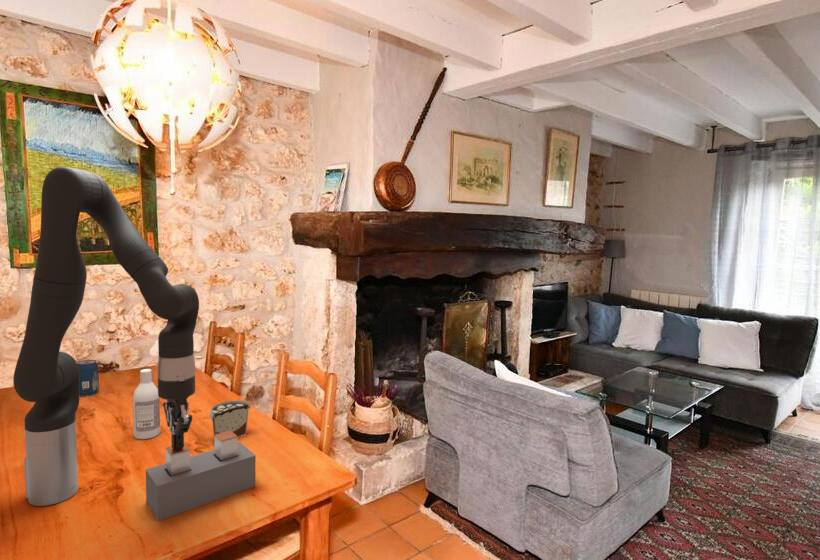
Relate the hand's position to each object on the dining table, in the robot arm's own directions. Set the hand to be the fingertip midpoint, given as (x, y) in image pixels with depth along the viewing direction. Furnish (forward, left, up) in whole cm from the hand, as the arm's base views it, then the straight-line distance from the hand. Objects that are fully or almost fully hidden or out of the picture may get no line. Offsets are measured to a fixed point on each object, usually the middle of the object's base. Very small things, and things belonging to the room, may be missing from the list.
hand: (177, 448), depth 107 cm
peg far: (+5, +9, -8) cm, 14 cm away
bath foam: (-34, +24, -13) cm, 44 cm away
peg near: (0, 0, -8) cm, 8 cm away
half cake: (-12, +32, -13) cm, 37 cm away
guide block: (+3, +5, -13) cm, 14 cm away
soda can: (-80, +42, -13) cm, 92 cm away
